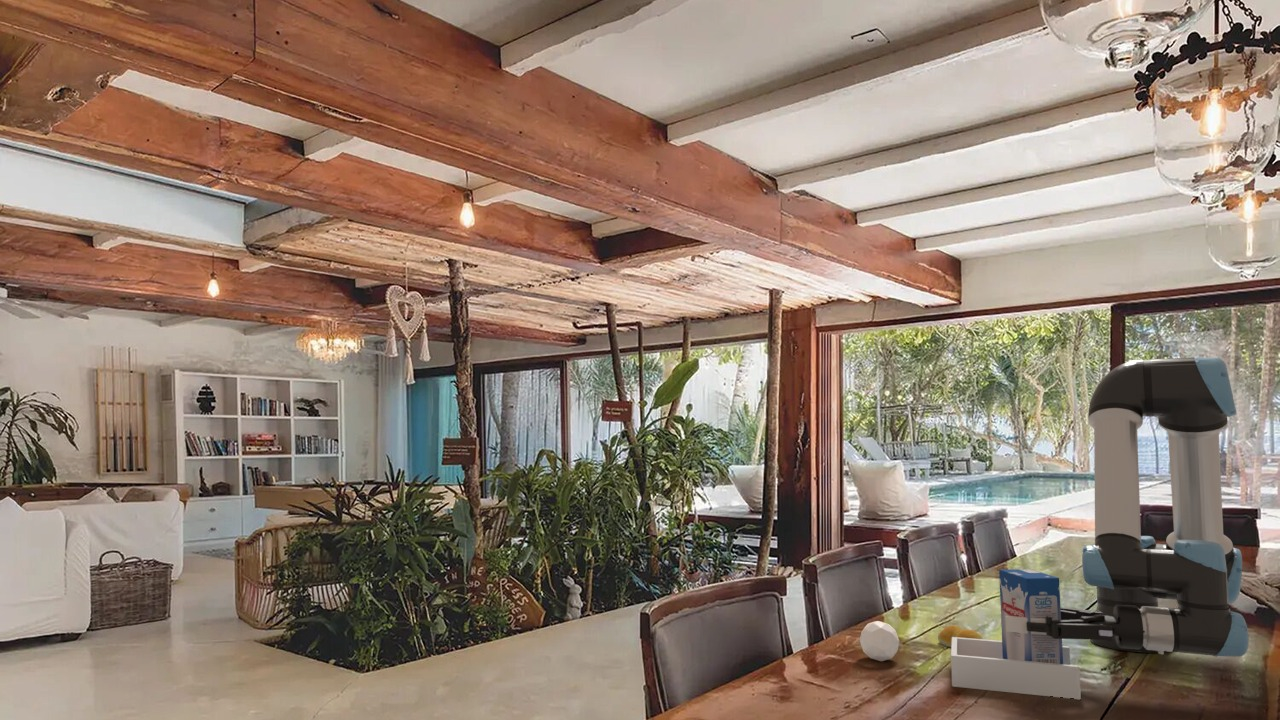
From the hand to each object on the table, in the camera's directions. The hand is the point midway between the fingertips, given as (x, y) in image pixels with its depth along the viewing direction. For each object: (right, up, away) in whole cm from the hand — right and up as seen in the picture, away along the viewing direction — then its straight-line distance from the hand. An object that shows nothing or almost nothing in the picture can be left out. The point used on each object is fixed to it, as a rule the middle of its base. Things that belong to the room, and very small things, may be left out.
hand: (1004, 617), depth 155 cm
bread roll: (+1, -14, +25) cm, 29 cm away
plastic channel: (+1, -11, -1) cm, 12 cm away
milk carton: (+4, -12, -3) cm, 12 cm away
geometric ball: (-20, -13, +14) cm, 27 cm away
